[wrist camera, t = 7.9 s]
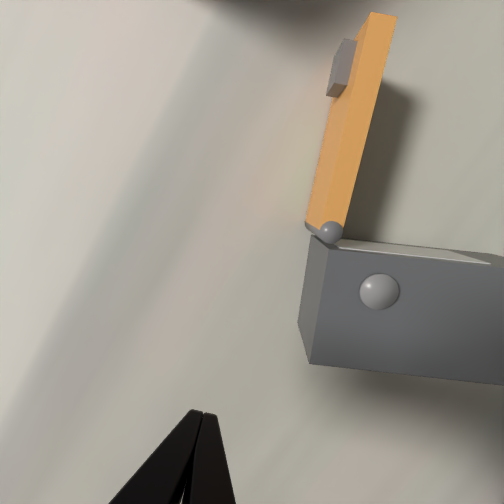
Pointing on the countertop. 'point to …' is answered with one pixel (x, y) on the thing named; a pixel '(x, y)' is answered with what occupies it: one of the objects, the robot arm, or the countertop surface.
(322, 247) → the housing
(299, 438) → the countertop surface
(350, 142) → the door
